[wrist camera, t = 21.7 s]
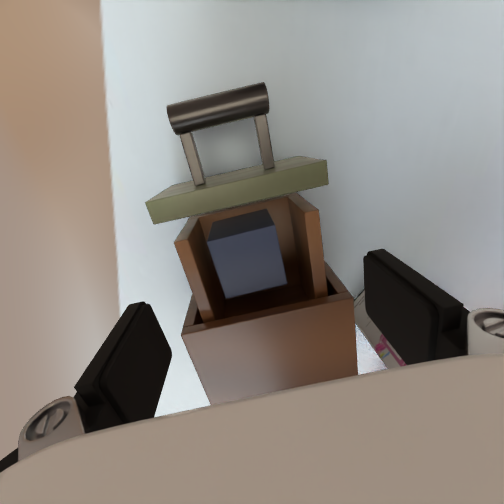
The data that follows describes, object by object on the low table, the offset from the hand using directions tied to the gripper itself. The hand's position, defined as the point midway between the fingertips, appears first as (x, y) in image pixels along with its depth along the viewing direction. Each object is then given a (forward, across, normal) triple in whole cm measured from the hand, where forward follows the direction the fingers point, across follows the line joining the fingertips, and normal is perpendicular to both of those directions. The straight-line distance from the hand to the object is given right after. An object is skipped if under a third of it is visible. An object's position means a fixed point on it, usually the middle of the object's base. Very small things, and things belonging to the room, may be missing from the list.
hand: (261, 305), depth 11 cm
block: (+8, 0, 0) cm, 8 cm away
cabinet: (+10, 0, +9) cm, 13 cm away
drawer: (+9, 0, -2) cm, 10 cm away
